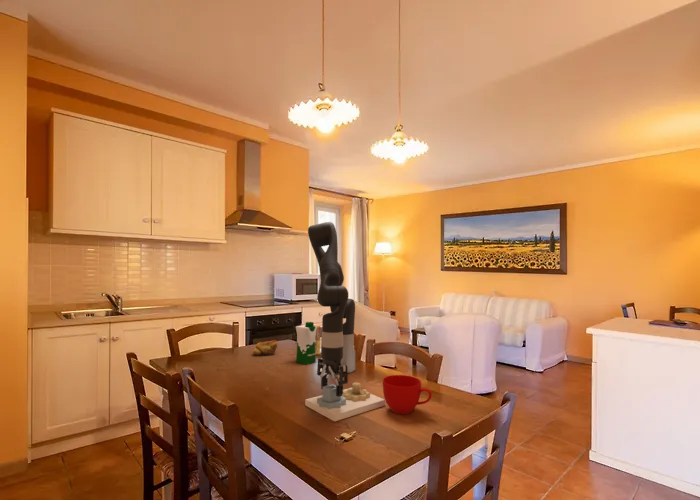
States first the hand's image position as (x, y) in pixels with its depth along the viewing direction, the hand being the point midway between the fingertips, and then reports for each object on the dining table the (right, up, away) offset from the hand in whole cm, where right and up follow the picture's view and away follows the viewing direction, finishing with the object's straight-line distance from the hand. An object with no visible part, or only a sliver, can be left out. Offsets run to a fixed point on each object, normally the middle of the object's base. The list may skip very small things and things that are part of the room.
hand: (331, 392), depth 127 cm
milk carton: (-16, -8, +60) cm, 63 cm away
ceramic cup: (+25, -6, -1) cm, 26 cm away
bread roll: (-40, -9, +76) cm, 86 cm away
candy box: (-15, -9, +78) cm, 80 cm away
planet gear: (0, -4, 0) cm, 4 cm away
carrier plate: (+5, -6, +4) cm, 8 cm away
